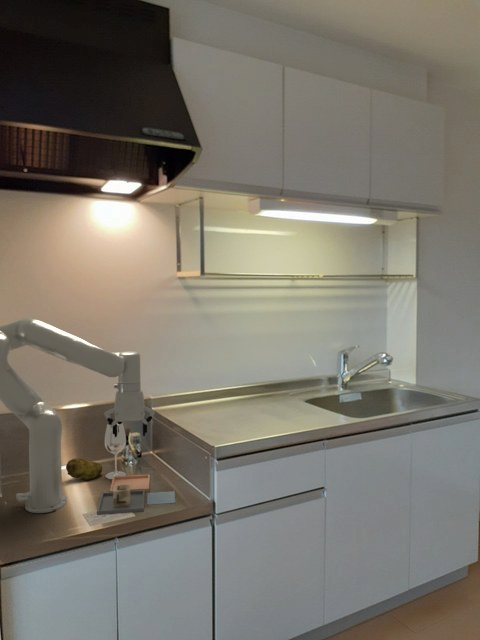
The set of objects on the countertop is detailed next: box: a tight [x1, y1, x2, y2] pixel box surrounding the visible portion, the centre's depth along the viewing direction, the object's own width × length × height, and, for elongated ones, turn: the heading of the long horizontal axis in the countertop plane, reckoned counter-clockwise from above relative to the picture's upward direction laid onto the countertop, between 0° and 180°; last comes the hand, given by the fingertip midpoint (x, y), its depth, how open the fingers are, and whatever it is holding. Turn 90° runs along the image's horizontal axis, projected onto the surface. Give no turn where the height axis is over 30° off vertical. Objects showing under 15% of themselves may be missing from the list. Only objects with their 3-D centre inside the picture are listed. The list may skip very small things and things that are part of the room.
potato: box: [65, 457, 103, 481], centre depth 183 cm, size 8×13×8 cm, turn 111°
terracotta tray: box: [109, 474, 151, 493], centre depth 176 cm, size 13×13×2 cm
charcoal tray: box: [96, 490, 146, 515], centre depth 161 cm, size 14×14×2 cm
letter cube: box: [113, 485, 130, 507], centre depth 161 cm, size 5×5×5 cm
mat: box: [146, 490, 176, 506], centre depth 165 cm, size 9×9×1 cm
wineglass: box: [104, 421, 127, 481], centre depth 185 cm, size 8×8×20 cm
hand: (130, 435), depth 175 cm, fingers open, 9 cm apart
